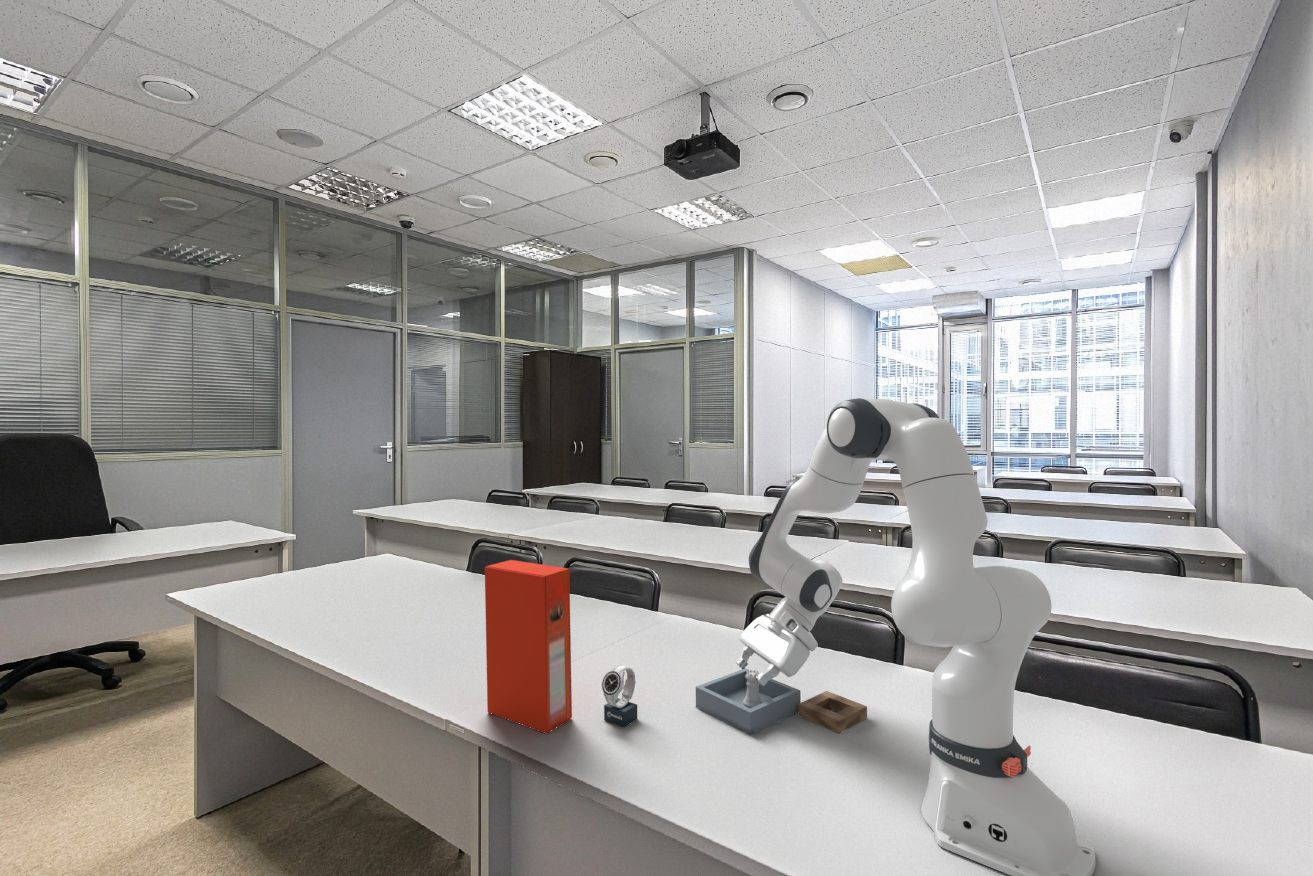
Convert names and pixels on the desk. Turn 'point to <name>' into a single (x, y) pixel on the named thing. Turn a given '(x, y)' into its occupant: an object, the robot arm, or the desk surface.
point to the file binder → (528, 643)
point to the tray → (727, 704)
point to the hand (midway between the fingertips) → (748, 674)
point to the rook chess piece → (752, 690)
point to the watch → (612, 686)
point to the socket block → (838, 722)
